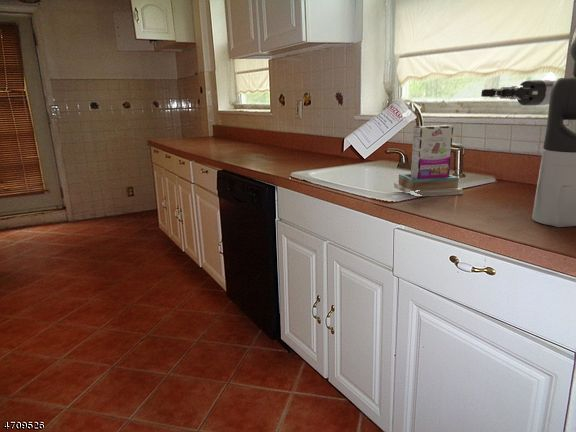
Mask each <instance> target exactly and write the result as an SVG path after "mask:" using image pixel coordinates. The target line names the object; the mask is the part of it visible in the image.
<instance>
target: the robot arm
mask: <svg viewBox="0 0 576 432" xmlns="http://www.w3.org/2000/svg"><path fill="white" fill-rule="evenodd" d="M569 50H570V55H571V58H572V60H573V67H572V75H573V77H572V76H570V77H569V76H568V77H559V78H557V79H556V80H549V79H526V80H524V81H522V82H521V83H520V84H519V86H518V85H517V86H515V85H512V86H506V87H505V86H503V87H500V88H490V89H489V88H486V89H485V88H482V90H481V95H480V96H481V97H483V98H484V97H487V98H499V99H500V100H501V99H505V100H506V99H507V100H517V102H518V103H519V104H520V105H521V106H546V105H548V114H547V115H548V116H547V123H546V130H545V136H544V142H543V147H542V154H541V159H540V160H541V161H540V166H539V172H538V179H537V184H536V191H535V197H534V202H533V209H532V216H531V220H533V221H534V222H536V223H539V224H543V225H547V226H553V227H556V228H564V227H565V228H566V227H567V228H568V227H576V132H574V131H572V130H570V129H569V128H568V127H566V125H565V124H564V121H565V120H566V121H576V29H575V30H574V33H573V36H572V41H571V44H570V49H569Z"/></svg>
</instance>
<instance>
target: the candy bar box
mask: <svg viewBox="0 0 576 432" xmlns="http://www.w3.org/2000/svg"><path fill="white" fill-rule="evenodd" d="M412 132H413V133H412V150H411V163H410V164H411V165H410V166H411V167H410V168H411V169H410V174H411V178H413V179H425V178H446V177H449V175H450V169H451V158H452V147H453V146H452V145H453V136H454V135H453V133H454V125H449V124H448V125H447V124H442V125H440V124H439V125H438V124H437V125H418V126H413V131H412Z"/></svg>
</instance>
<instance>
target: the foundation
mask: <svg viewBox="0 0 576 432" xmlns="http://www.w3.org/2000/svg"><path fill="white" fill-rule="evenodd" d="M459 180H460V178H459V177H458V176H455V175H452V174H449V177H446V178H425V179H413V178H411V173H399V175H398V182H394V185H393V188H394V189H396V190H399V191H401V192H403V193H405V192H410V191H414V192H415V191H416V190H420V191H418V192H415V193H417V194H420V195H422V197H436V196H451V195H452V196H453V195H456V196H457V195H463V192H464V190H463V188H459Z"/></svg>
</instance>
